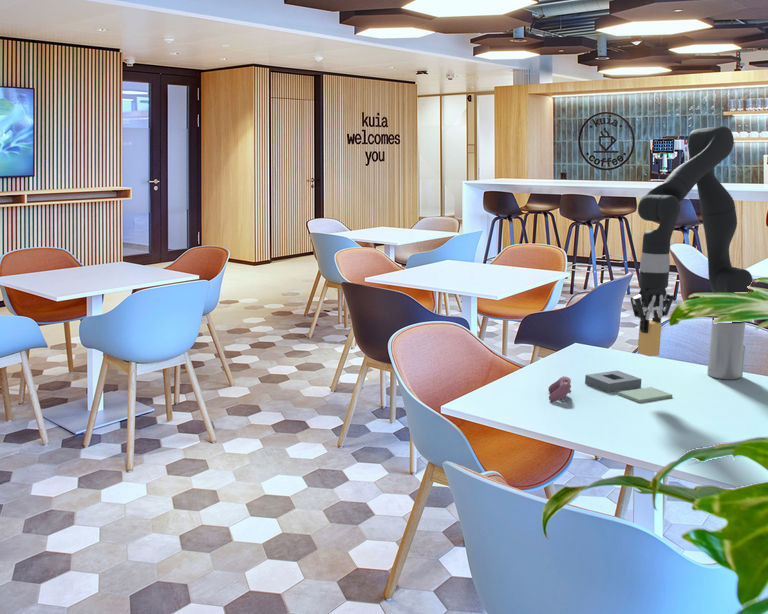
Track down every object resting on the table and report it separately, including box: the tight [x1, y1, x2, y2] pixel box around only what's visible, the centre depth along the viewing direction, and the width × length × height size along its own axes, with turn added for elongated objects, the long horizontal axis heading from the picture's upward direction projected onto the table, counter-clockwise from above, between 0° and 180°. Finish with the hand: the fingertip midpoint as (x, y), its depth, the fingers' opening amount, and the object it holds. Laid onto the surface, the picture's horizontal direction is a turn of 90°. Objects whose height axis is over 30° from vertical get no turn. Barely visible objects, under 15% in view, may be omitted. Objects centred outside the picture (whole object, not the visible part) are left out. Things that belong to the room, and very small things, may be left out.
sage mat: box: [618, 386, 673, 404], centre depth 218 cm, size 12×8×1 cm, turn 115°
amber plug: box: [637, 319, 663, 357], centre depth 215 cm, size 3×5×9 cm
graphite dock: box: [584, 370, 642, 393], centre depth 228 cm, size 12×10×2 cm
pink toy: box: [548, 375, 572, 402], centre depth 216 cm, size 10×5×7 cm, turn 169°
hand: (649, 331), depth 215 cm, fingers closed on amber plug, 3 cm apart
